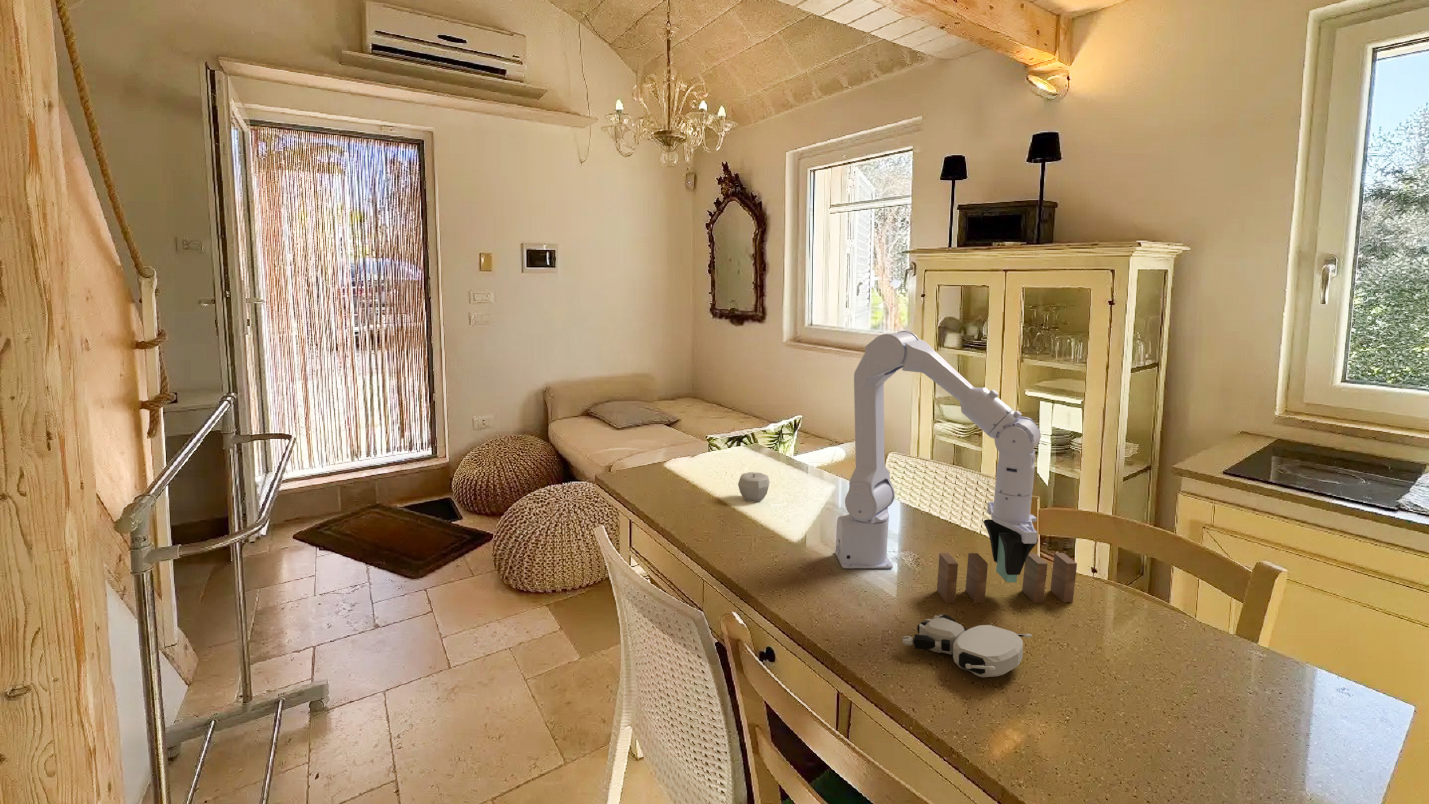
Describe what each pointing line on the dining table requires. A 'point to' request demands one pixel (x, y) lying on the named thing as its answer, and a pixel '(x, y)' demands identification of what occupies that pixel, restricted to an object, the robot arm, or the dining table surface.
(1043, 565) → the walnut domino
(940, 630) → the robot toy
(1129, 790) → the dining table surface
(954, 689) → the dining table surface
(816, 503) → the dining table surface
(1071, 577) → the walnut domino
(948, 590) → the walnut domino
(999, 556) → the teal domino
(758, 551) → the dining table surface
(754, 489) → the apple
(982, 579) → the walnut domino
